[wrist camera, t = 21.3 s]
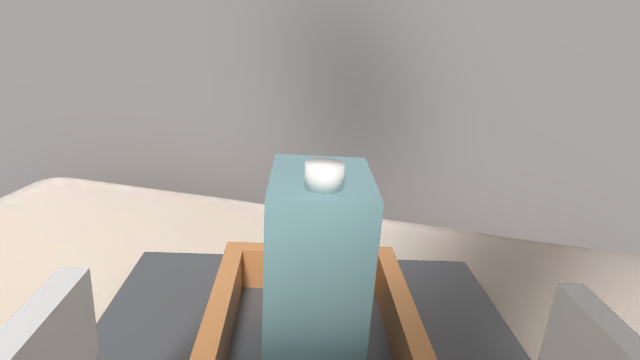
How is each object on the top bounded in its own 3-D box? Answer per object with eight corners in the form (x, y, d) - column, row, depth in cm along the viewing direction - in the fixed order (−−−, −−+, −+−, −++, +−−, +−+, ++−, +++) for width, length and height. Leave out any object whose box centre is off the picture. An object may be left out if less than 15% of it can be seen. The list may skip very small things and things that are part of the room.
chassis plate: (461, 274, 33) (469, 229, 31) (638, 552, 16) (670, 476, 14) (145, 265, 31) (142, 217, 30) (-38, 556, 14) (-62, 474, 13)
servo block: (350, 310, 26) (367, 138, 23) (362, 391, 20) (386, 178, 17) (271, 307, 26) (276, 134, 23) (260, 388, 20) (265, 172, 17)
